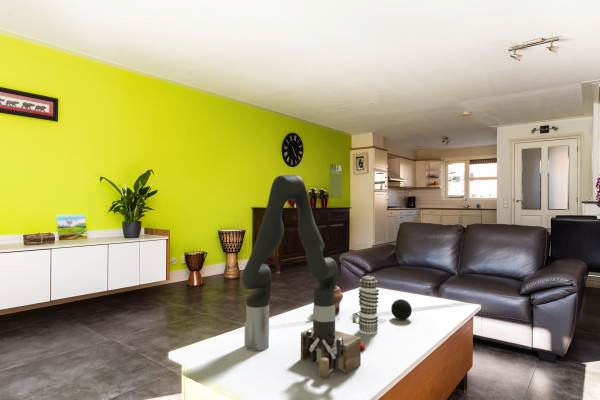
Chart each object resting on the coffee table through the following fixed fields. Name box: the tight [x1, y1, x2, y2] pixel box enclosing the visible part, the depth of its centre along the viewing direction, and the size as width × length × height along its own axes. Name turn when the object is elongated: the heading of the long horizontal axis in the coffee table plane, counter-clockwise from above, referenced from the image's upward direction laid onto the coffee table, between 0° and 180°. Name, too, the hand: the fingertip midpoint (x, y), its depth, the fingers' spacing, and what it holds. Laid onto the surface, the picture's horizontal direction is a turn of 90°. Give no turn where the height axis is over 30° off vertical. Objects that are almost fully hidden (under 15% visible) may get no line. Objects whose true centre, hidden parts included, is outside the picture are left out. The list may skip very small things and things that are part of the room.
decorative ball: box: [390, 298, 412, 321], centre depth 184 cm, size 10×10×10 cm
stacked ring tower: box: [358, 275, 380, 336], centre depth 166 cm, size 9×9×25 cm
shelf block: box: [316, 346, 321, 363], centre depth 137 cm, size 5×5×5 cm
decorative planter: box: [334, 285, 344, 315], centre depth 192 cm, size 20×12×14 cm, turn 141°
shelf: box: [300, 326, 362, 376], centre depth 134 cm, size 20×10×10 cm, turn 52°
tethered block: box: [318, 356, 344, 380], centre depth 127 cm, size 5×15×6 cm, turn 142°
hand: (324, 365), depth 122 cm, fingers open, 8 cm apart
